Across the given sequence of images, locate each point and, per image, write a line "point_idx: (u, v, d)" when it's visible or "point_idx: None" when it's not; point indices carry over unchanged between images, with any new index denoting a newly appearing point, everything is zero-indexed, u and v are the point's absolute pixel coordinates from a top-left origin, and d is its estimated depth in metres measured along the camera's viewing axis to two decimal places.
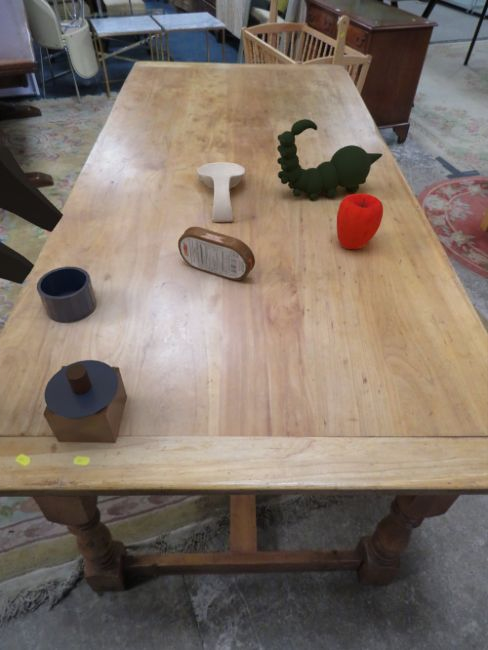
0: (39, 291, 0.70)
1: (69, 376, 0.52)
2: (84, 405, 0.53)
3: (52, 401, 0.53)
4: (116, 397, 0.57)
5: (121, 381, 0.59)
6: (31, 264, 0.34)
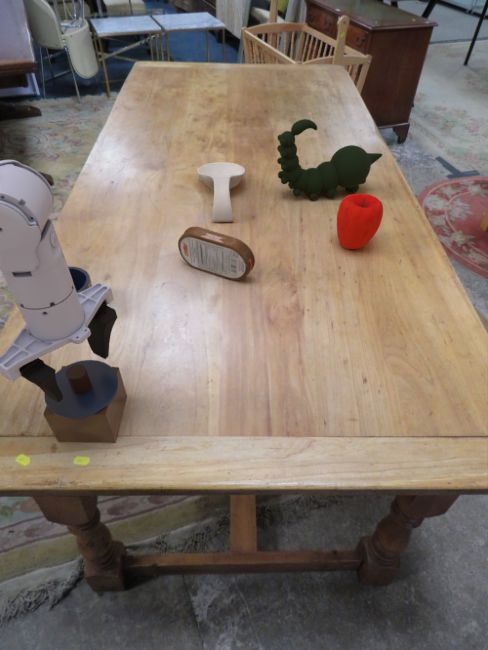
0: None
1: (69, 376, 0.52)
2: (84, 405, 0.53)
3: (52, 401, 0.53)
4: (116, 397, 0.57)
5: (121, 381, 0.59)
6: (61, 398, 0.51)
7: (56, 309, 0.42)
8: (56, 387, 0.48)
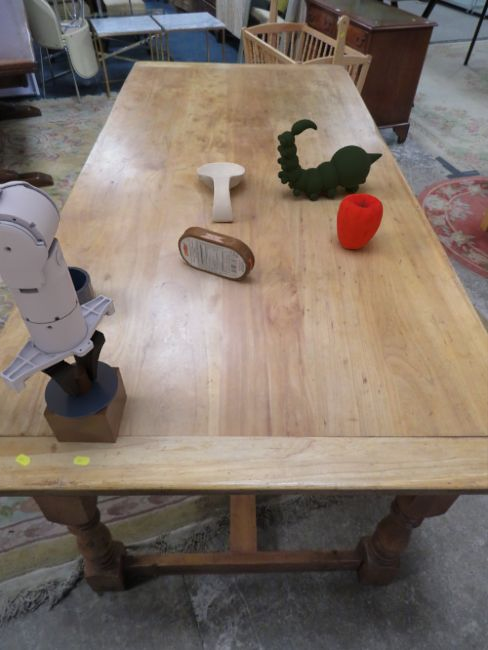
0: None
1: None
2: (84, 404, 0.53)
3: (52, 401, 0.53)
4: (116, 397, 0.57)
5: (121, 381, 0.59)
6: (78, 394, 0.53)
7: (61, 323, 0.44)
8: (74, 383, 0.51)
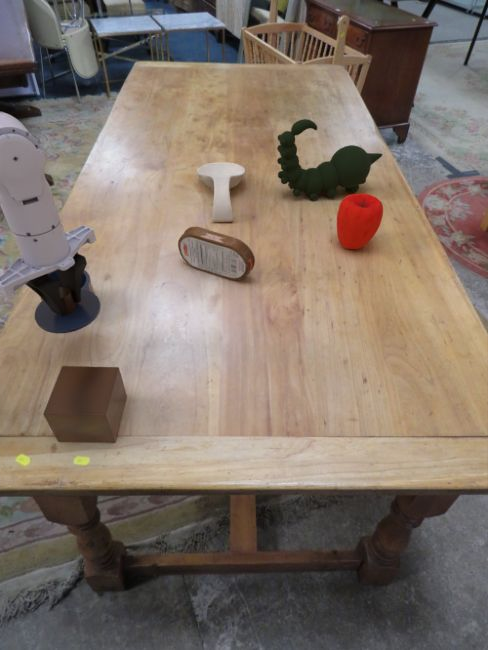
0: None
1: None
2: (69, 322, 0.60)
3: (41, 319, 0.61)
4: (116, 397, 0.57)
5: (121, 381, 0.59)
6: (64, 312, 0.61)
7: (45, 237, 0.51)
8: (59, 300, 0.58)
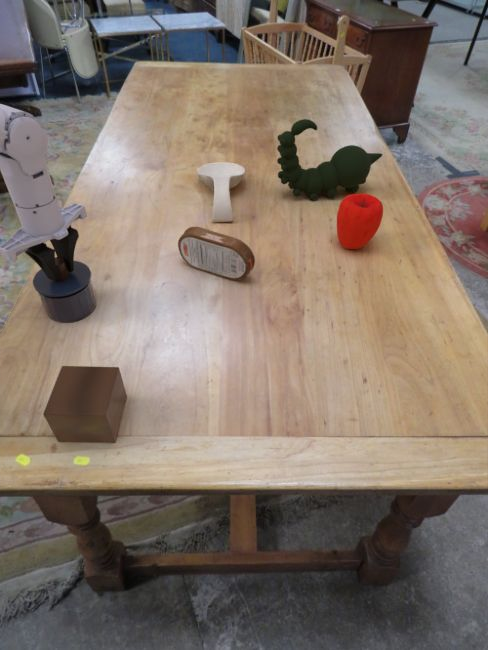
0: None
1: None
2: (63, 287, 0.69)
3: (39, 285, 0.70)
4: (116, 397, 0.57)
5: (121, 381, 0.59)
6: (59, 279, 0.69)
7: (42, 210, 0.60)
8: (55, 267, 0.67)
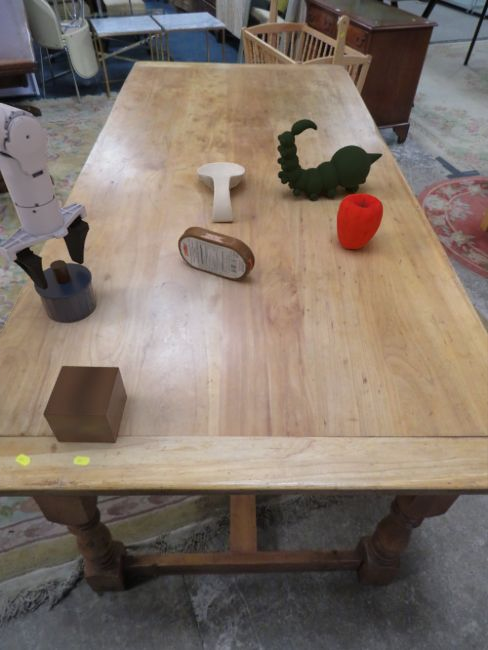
0: None
1: (52, 267, 0.69)
2: (64, 290, 0.70)
3: (40, 288, 0.70)
4: (116, 397, 0.57)
5: (121, 381, 0.59)
6: (47, 287, 0.68)
7: (42, 209, 0.60)
8: (42, 275, 0.66)
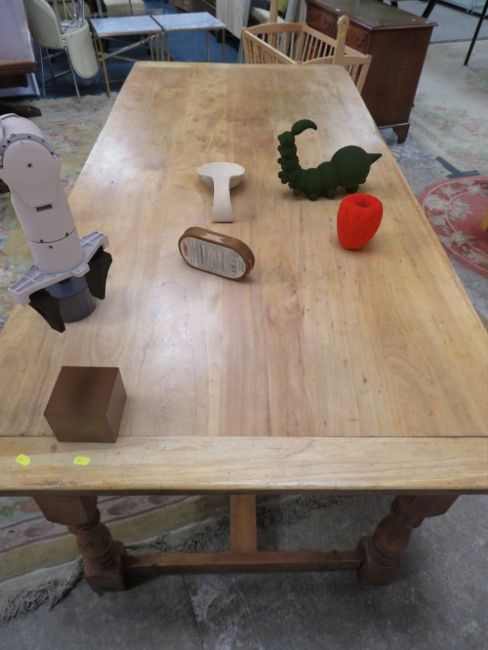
0: None
1: None
2: (64, 290, 0.70)
3: None
4: (116, 397, 0.57)
5: (121, 381, 0.59)
6: (64, 330, 0.58)
7: (60, 244, 0.50)
8: (59, 317, 0.56)
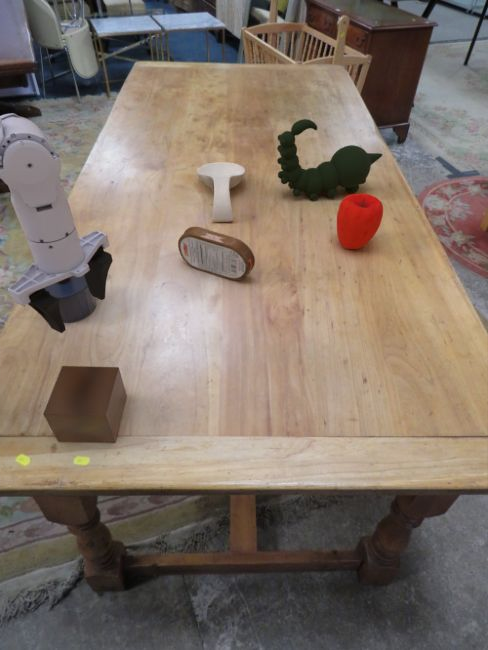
0: None
1: None
2: (64, 290, 0.70)
3: None
4: (116, 397, 0.57)
5: (121, 381, 0.59)
6: (64, 330, 0.58)
7: (60, 244, 0.50)
8: (59, 317, 0.56)
